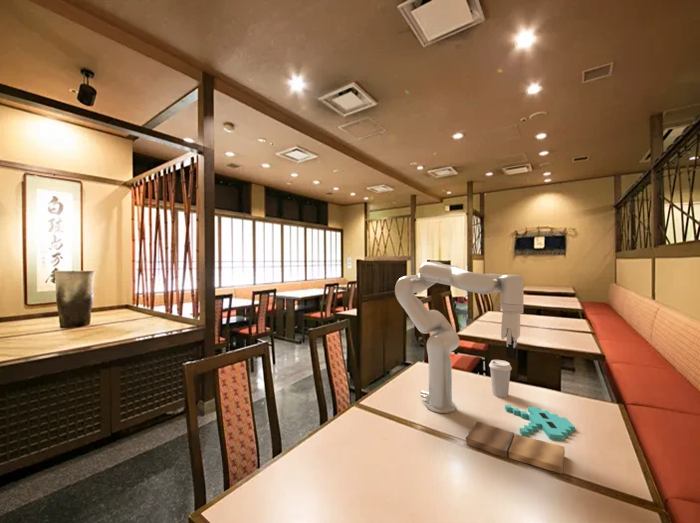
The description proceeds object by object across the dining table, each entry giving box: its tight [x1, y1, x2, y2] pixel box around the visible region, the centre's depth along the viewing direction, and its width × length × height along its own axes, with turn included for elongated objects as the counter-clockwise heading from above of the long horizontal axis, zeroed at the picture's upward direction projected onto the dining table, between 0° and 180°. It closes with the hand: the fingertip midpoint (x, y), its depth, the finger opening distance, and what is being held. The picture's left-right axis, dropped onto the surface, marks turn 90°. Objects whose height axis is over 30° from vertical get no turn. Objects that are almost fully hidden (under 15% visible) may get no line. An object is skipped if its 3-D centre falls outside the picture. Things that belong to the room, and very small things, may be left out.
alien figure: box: [504, 404, 576, 441], centre depth 115 cm, size 20×2×20 cm
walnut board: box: [465, 420, 516, 459], centre depth 105 cm, size 13×13×2 cm
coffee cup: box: [488, 359, 513, 399], centre depth 141 cm, size 10×10×15 cm
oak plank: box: [508, 433, 565, 475], centre depth 96 cm, size 14×12×2 cm
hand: (511, 357), depth 111 cm, fingers closed
